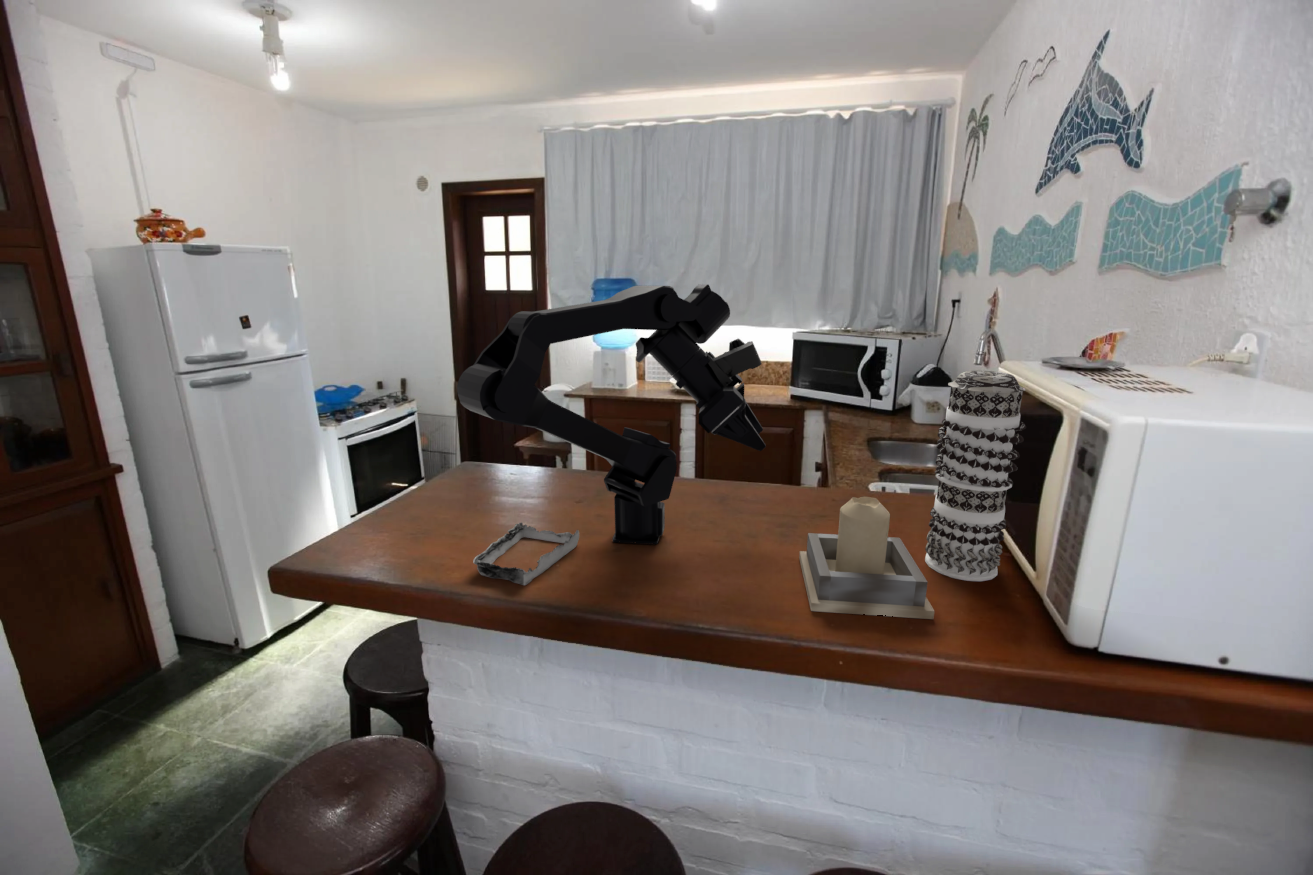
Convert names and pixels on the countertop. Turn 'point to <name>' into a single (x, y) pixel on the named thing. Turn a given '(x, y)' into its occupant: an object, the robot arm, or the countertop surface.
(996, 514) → the decorative candle
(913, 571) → the square tray
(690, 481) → the countertop surface
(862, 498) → the candle
